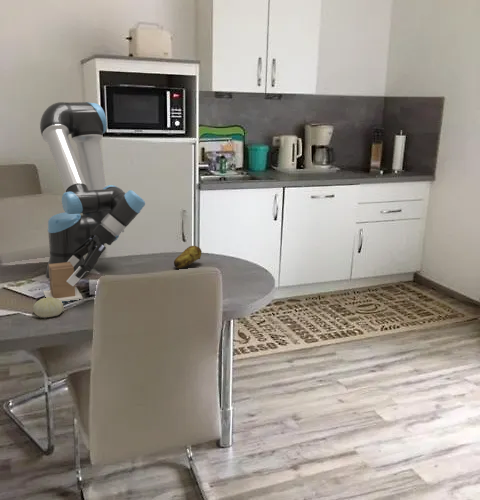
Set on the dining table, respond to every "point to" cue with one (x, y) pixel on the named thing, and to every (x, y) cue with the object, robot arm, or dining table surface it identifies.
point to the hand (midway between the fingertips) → (66, 277)
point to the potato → (188, 257)
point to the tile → (76, 297)
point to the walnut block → (61, 280)
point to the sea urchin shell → (48, 307)
